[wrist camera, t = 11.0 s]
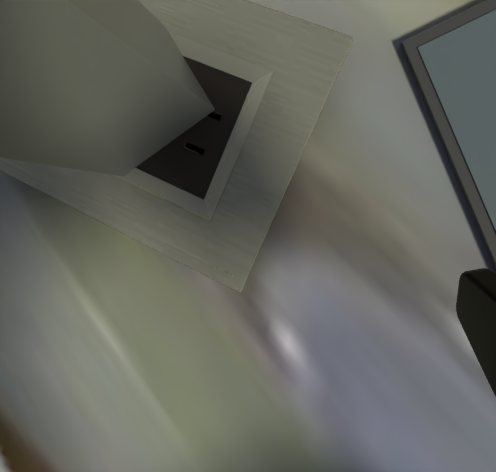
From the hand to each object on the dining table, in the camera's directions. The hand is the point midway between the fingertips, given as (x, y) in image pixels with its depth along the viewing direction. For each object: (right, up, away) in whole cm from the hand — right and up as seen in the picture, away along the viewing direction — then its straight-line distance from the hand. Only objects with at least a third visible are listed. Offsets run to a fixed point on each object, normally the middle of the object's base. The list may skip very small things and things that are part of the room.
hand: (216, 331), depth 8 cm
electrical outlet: (-3, +7, +12) cm, 14 cm away
